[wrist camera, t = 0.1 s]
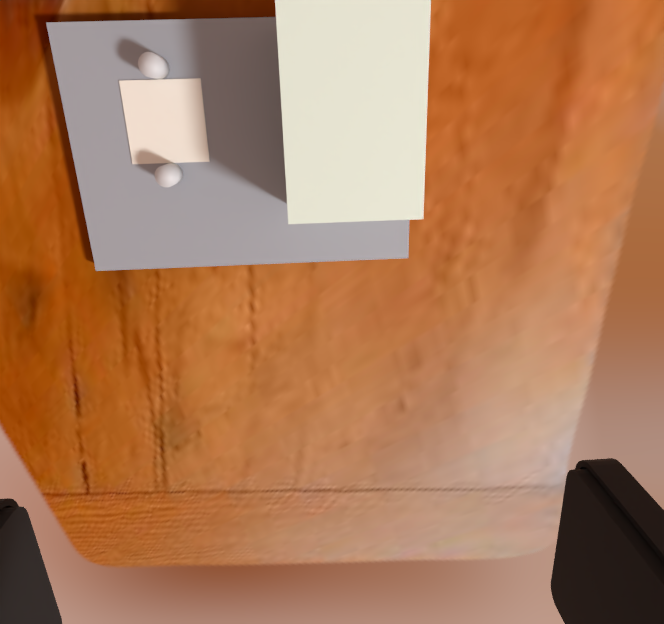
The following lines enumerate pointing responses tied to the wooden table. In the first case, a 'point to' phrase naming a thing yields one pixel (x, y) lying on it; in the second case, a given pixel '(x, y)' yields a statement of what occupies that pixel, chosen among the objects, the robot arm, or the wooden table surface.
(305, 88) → the housing cover
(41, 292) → the wooden table surface
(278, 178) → the base board
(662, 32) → the wooden table surface
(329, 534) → the wooden table surface
